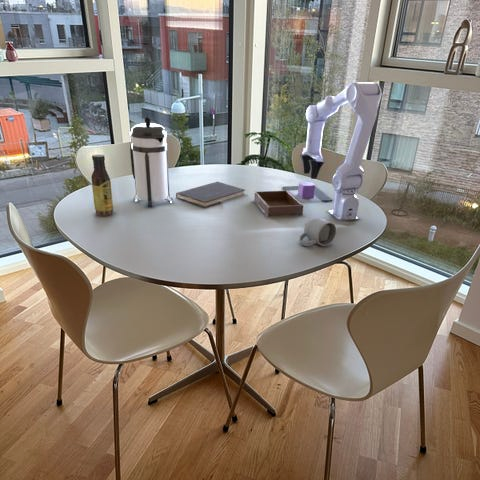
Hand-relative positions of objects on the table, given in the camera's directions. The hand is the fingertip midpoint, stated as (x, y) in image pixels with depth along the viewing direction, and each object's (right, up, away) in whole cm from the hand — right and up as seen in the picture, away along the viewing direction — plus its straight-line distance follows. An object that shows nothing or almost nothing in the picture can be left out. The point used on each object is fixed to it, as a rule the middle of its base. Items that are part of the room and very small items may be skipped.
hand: (310, 175), depth 183 cm
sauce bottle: (-76, -20, -20) cm, 81 cm away
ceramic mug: (-4, -33, -35) cm, 48 cm away
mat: (0, -5, +8) cm, 10 cm away
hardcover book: (-39, -8, +1) cm, 40 cm away
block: (-1, -7, +4) cm, 8 cm away
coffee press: (-62, -12, -6) cm, 63 cm away
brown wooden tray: (-14, -15, -9) cm, 22 cm away
